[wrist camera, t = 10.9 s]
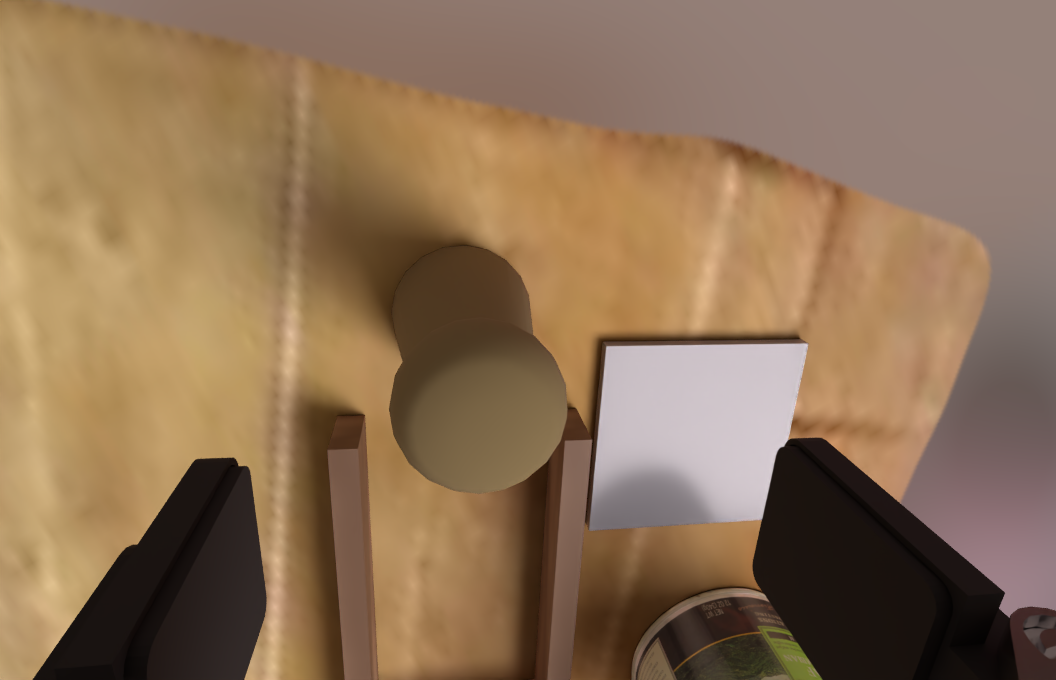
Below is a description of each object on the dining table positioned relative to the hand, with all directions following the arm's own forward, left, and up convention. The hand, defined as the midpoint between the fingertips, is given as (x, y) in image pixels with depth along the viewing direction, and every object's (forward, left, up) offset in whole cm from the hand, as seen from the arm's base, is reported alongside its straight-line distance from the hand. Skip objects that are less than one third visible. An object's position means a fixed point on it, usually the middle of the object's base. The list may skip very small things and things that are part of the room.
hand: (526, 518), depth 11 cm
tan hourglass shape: (0, -2, -17) cm, 17 cm away
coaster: (+11, -8, -17) cm, 22 cm away
